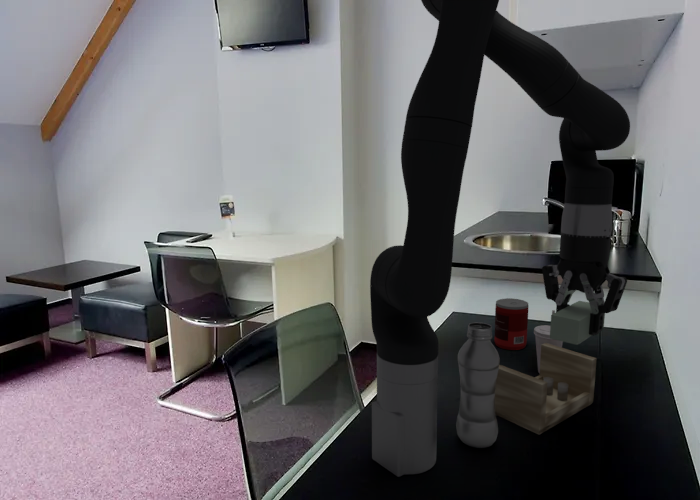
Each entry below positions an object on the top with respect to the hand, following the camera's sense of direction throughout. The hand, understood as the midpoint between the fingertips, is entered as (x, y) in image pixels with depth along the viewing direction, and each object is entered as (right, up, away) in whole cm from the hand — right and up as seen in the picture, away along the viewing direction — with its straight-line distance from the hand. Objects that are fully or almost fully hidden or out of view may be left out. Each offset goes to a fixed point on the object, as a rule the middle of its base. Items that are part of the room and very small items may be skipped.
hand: (578, 329), depth 86 cm
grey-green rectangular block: (0, -1, 0) cm, 1 cm away
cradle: (-3, -16, +9) cm, 18 cm away
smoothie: (+4, -13, +24) cm, 28 cm away
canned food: (+1, -10, +40) cm, 42 cm away
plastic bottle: (-18, -18, -3) cm, 26 cm away
